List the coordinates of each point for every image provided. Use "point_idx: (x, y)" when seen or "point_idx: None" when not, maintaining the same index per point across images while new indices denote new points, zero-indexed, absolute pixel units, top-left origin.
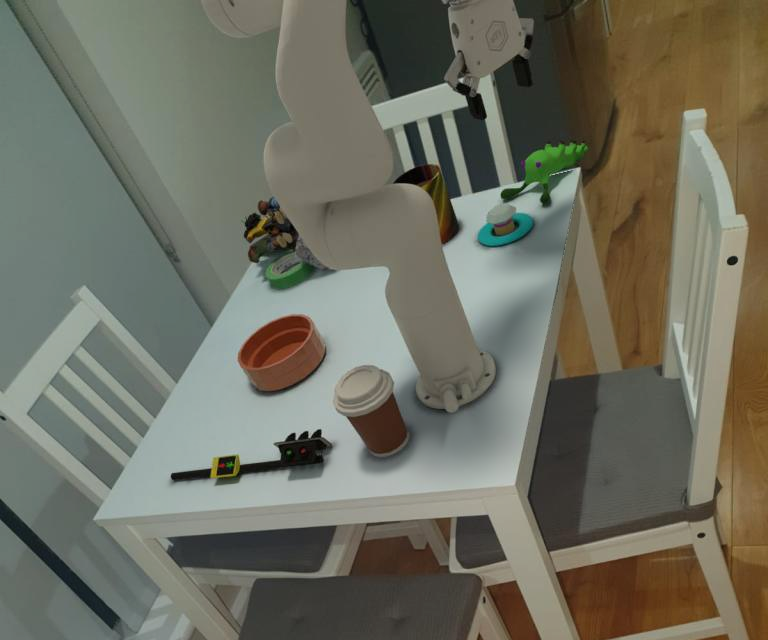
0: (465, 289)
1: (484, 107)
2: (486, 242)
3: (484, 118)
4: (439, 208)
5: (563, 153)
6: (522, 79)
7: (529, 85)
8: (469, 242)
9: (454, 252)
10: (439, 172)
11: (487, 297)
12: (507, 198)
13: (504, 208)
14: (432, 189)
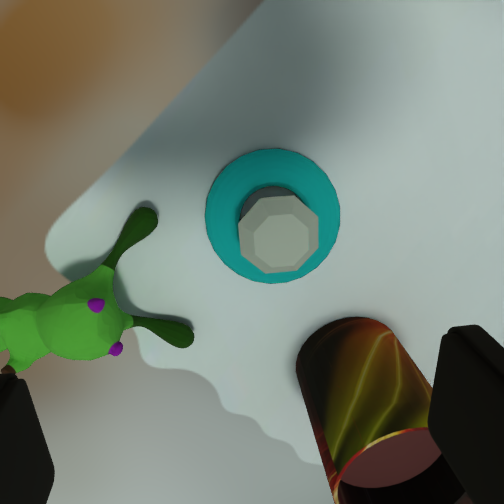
0: (487, 101)
1: (488, 377)
2: (337, 212)
3: (475, 325)
4: (378, 368)
5: (4, 310)
6: (17, 465)
7: (11, 381)
8: (339, 266)
9: (381, 265)
10: (360, 446)
11: (499, 4)
12: (184, 324)
13: (271, 232)
14: (403, 409)
